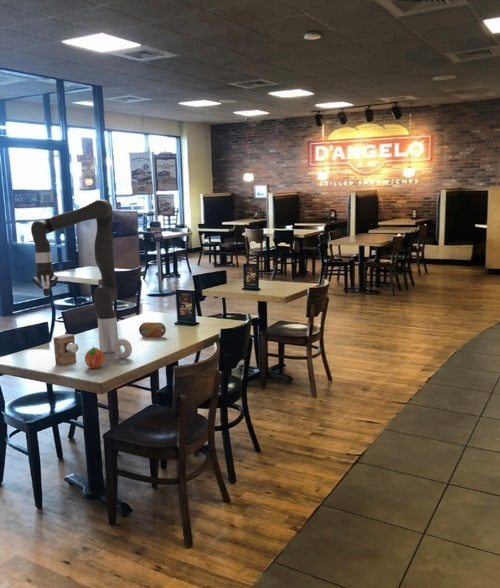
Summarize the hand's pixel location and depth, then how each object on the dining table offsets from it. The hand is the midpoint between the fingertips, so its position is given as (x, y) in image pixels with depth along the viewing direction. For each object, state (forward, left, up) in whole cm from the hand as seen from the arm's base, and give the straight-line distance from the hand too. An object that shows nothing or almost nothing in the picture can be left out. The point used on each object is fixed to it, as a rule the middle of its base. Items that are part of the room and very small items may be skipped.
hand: (47, 295), depth 291 cm
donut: (-34, +26, -29) cm, 52 cm away
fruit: (-21, +37, -29) cm, 52 cm away
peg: (-9, +25, -23) cm, 36 cm away
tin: (-52, -14, -29) cm, 61 cm away
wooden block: (-8, +24, -29) cm, 38 cm away
